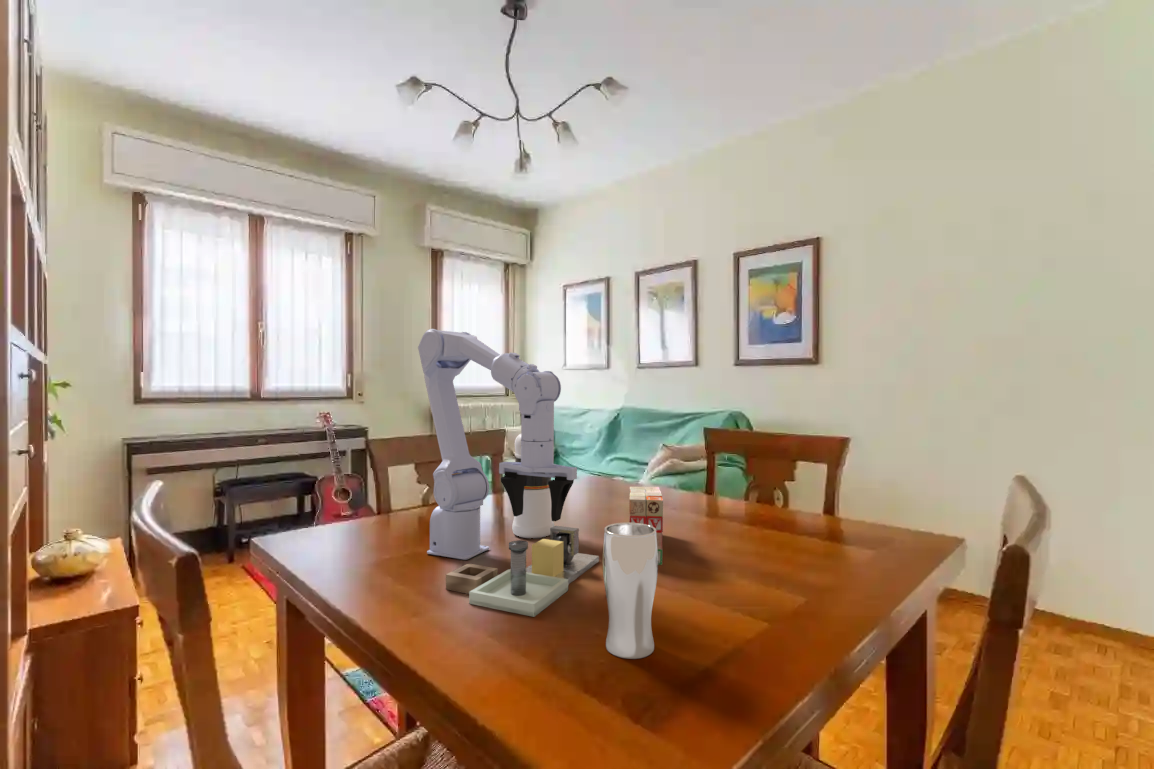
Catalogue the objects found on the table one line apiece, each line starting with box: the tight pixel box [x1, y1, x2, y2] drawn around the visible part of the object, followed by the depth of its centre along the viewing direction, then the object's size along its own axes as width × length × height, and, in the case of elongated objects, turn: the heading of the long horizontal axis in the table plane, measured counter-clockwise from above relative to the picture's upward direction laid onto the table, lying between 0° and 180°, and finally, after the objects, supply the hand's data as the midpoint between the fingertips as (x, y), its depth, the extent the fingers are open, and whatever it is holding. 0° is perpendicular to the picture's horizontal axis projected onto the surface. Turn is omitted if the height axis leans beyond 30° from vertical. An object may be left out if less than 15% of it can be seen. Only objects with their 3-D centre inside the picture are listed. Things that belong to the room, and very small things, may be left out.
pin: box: [508, 539, 529, 596], centre depth 86 cm, size 3×3×8 cm
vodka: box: [511, 433, 555, 539], centre depth 123 cm, size 9×9×30 cm
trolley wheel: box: [526, 525, 600, 585], centre depth 99 cm, size 9×15×7 cm, turn 155°
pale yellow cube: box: [531, 538, 563, 577], centre depth 95 cm, size 4×4×5 cm
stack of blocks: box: [628, 486, 664, 566], centre depth 113 cm, size 21×6×12 cm, turn 174°
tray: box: [468, 568, 569, 618], centre depth 86 cm, size 11×11×2 cm
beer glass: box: [602, 522, 659, 660], centre depth 70 cm, size 7×7×15 cm
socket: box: [445, 563, 499, 595], centre depth 91 cm, size 6×6×2 cm
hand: (536, 517), depth 97 cm, fingers open, 7 cm apart
